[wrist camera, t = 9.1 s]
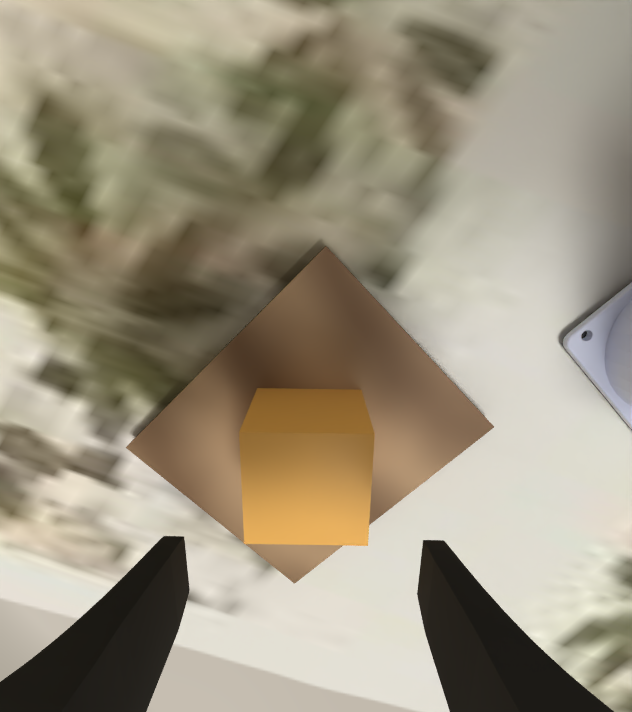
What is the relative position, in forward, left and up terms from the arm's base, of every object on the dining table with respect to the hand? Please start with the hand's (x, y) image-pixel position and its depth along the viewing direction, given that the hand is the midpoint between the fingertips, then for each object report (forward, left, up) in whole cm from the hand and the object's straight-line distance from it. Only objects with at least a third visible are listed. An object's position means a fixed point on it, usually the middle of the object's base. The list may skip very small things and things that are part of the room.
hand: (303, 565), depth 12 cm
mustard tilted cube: (0, 0, -8) cm, 8 cm away
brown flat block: (0, 0, -9) cm, 9 cm away
